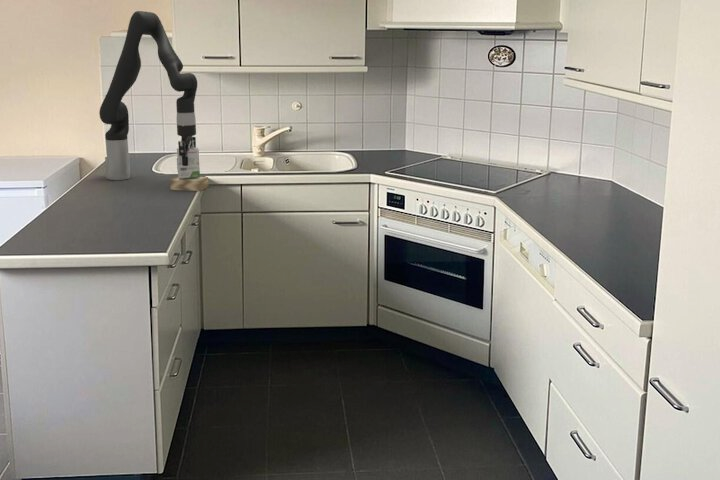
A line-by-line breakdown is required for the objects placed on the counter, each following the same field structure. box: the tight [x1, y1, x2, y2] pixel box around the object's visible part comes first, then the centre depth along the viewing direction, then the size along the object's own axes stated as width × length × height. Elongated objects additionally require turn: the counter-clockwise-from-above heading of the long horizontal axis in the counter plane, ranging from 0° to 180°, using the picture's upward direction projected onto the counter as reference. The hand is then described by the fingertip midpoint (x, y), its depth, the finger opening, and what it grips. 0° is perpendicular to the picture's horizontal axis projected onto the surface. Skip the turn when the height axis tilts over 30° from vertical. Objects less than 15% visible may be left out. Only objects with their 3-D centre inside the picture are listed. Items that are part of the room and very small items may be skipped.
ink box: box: [176, 147, 201, 178], centre depth 350 cm, size 8×5×12 cm, turn 106°
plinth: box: [169, 176, 210, 192], centre depth 352 cm, size 13×9×4 cm
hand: (188, 164), depth 350 cm, fingers closed on ink box, 6 cm apart
